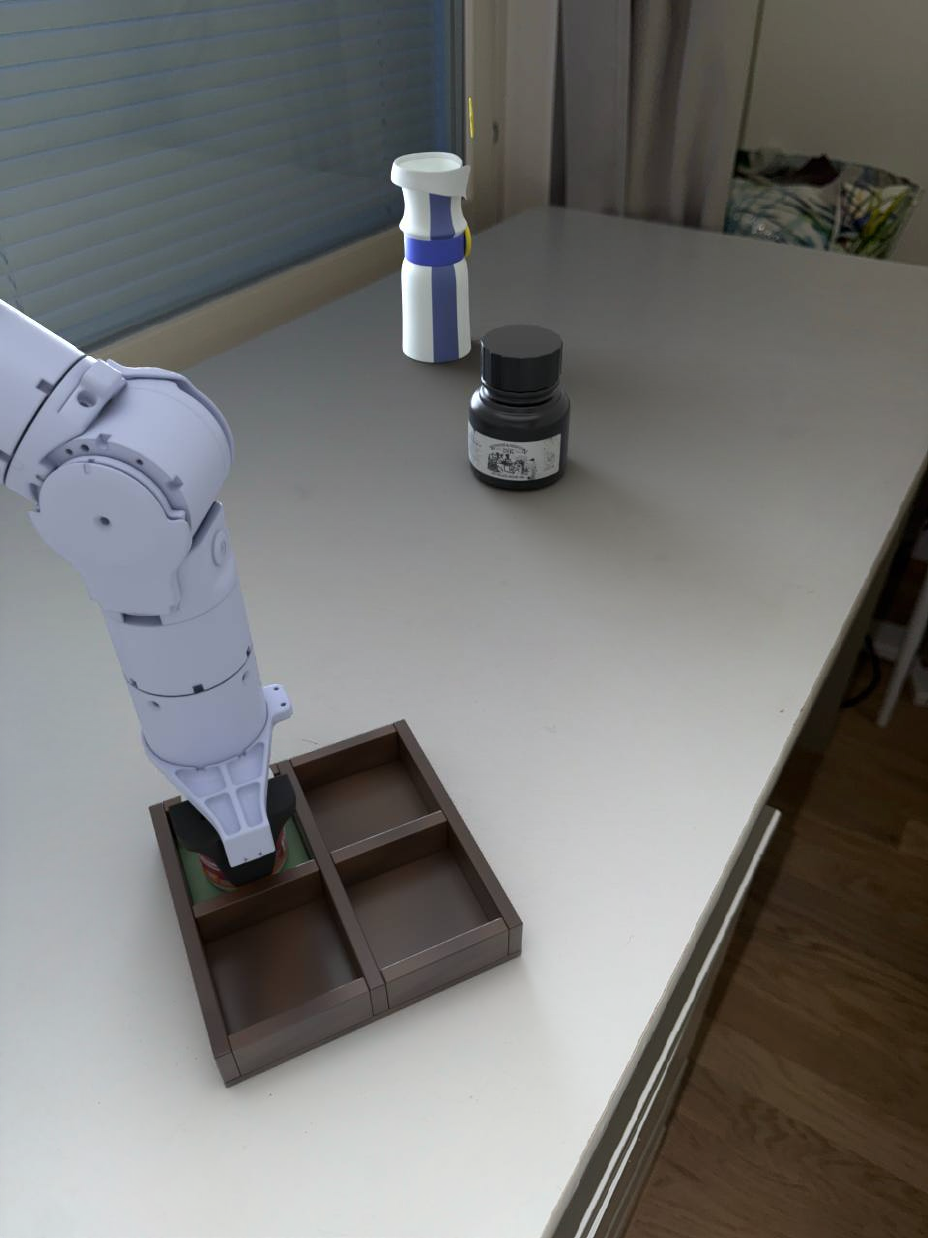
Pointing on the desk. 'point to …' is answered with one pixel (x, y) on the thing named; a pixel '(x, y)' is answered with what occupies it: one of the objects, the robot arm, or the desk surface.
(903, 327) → the desk surface
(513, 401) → the ink bottle
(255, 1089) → the desk surface
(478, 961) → the tray
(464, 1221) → the desk surface
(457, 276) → the water bottle
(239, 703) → the robot arm
